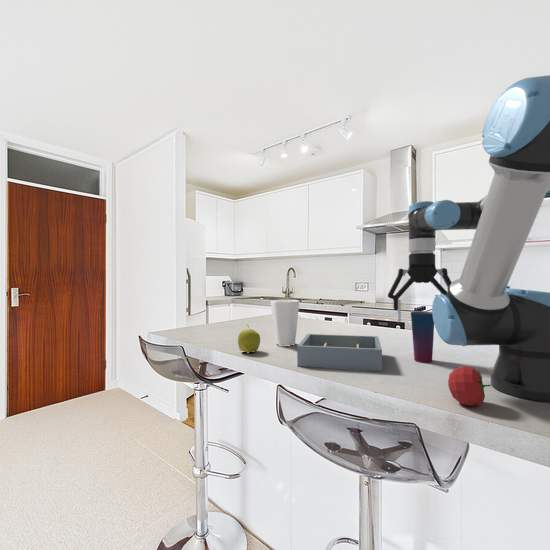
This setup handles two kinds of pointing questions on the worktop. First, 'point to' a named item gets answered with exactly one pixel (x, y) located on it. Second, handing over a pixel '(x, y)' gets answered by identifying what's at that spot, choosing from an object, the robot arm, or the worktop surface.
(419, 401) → the worktop surface
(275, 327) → the cup
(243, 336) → the apple
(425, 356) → the cup
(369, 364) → the walled box
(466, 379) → the tomato
